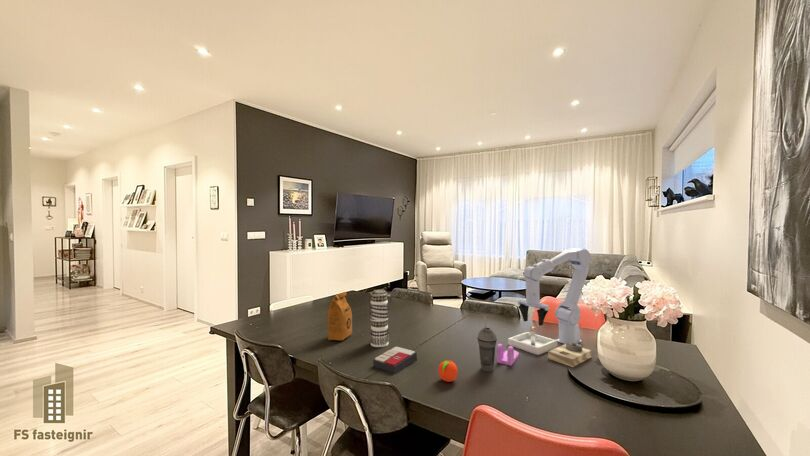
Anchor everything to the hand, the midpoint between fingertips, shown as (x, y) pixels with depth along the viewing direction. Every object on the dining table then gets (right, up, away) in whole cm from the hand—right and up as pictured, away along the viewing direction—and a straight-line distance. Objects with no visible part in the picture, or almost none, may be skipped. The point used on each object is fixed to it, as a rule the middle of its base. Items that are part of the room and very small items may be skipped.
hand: (533, 323), depth 147 cm
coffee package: (-90, -12, +14) cm, 92 cm away
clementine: (-43, -11, -32) cm, 55 cm away
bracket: (-15, -11, -13) cm, 23 cm away
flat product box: (-62, -12, -17) cm, 65 cm away
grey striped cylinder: (-70, -11, +5) cm, 71 cm away
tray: (0, -10, 0) cm, 10 cm away
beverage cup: (-27, -11, -23) cm, 37 cm away
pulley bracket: (+10, -10, -14) cm, 20 cm away
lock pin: (0, -10, -1) cm, 10 cm away
